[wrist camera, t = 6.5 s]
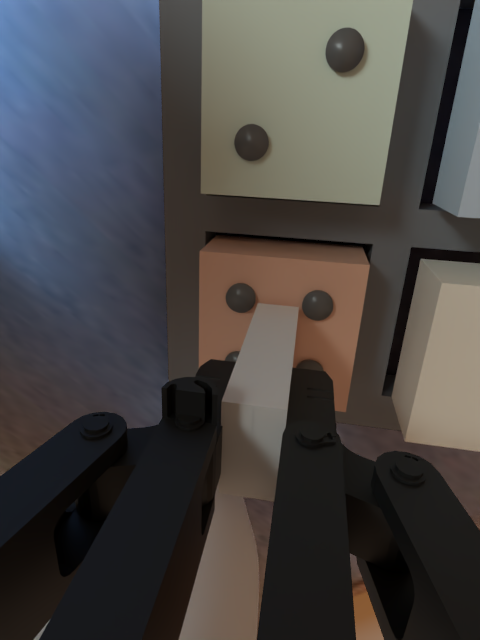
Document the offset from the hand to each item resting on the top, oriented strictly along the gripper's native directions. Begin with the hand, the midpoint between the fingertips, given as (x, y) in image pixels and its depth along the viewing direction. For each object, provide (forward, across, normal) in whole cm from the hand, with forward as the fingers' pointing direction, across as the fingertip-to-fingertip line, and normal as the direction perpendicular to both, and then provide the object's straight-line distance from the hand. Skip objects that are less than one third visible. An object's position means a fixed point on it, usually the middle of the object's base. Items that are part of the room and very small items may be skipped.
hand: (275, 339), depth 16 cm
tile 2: (+3, 0, +8) cm, 9 cm away
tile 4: (+3, 0, 0) cm, 3 cm away
